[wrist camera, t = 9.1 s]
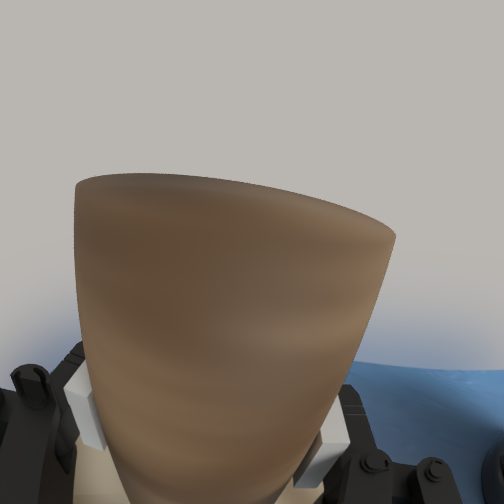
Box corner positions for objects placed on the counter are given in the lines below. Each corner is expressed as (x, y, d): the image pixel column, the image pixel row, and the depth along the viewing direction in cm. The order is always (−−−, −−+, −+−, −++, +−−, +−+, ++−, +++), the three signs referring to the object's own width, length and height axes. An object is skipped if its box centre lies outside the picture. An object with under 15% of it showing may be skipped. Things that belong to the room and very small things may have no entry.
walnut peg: (223, 462, 14) (281, 186, 10) (274, 539, 9) (450, 248, 5) (125, 480, 11) (86, 169, 7) (161, 570, 6) (40, 240, 2)
